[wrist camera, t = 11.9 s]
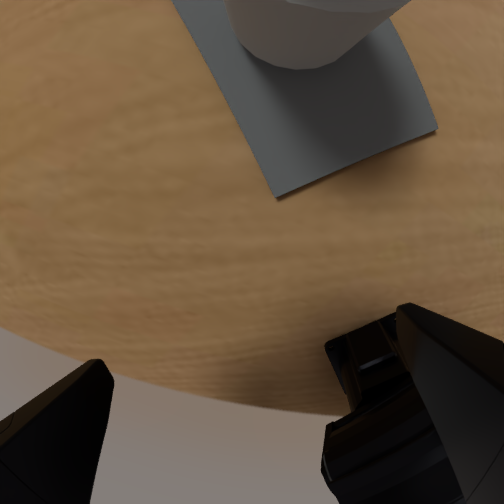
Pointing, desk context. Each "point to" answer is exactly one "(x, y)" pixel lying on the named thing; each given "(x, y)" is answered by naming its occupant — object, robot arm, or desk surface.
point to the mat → (313, 99)
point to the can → (305, 28)
